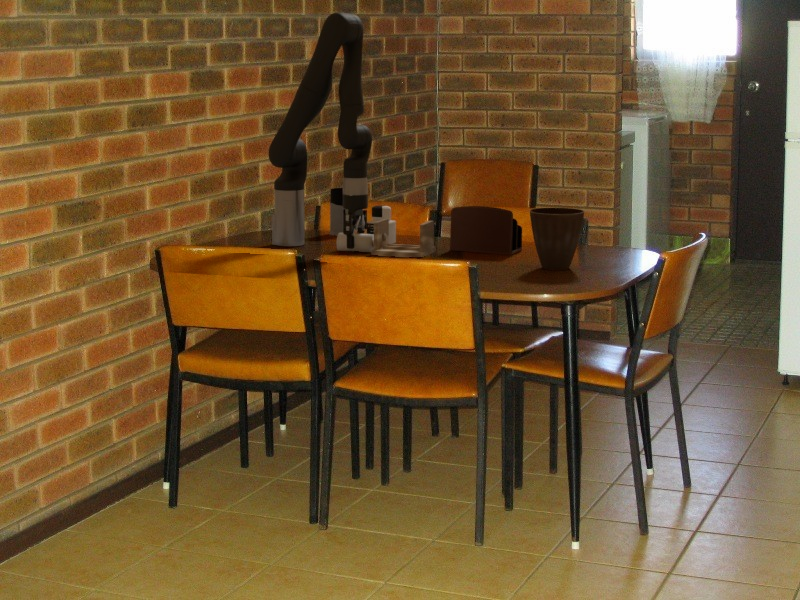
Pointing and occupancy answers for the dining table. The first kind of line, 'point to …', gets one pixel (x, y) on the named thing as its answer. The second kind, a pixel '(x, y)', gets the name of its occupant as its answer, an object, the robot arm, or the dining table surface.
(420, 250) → the roll holder
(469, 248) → the letter holder
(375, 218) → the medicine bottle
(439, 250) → the dining table surface
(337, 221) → the glass holder
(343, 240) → the paper roll
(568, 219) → the plant pot
